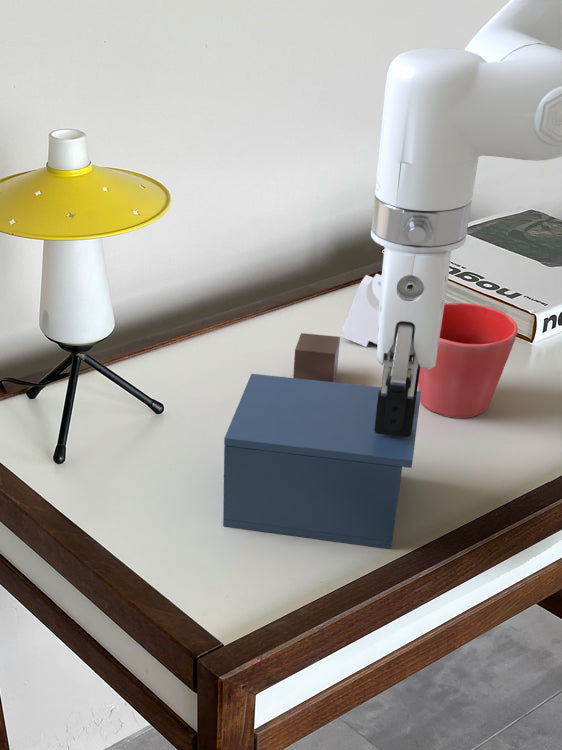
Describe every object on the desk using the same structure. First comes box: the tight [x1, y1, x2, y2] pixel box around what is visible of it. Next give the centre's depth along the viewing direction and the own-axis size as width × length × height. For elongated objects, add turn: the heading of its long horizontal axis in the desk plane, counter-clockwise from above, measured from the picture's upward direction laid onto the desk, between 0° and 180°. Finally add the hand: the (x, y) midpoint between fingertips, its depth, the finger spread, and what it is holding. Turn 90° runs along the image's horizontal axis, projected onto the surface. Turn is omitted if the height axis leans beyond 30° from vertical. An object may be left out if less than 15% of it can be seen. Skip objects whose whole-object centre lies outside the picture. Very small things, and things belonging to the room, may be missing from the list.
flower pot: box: [417, 302, 519, 419], centre depth 111 cm, size 11×11×10 cm
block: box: [292, 332, 341, 382], centre depth 118 cm, size 5×5×5 cm
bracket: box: [339, 273, 382, 348], centre depth 128 cm, size 13×7×8 cm, turn 157°
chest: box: [222, 445, 403, 550], centre depth 96 cm, size 16×13×9 cm
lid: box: [223, 369, 421, 469], centre depth 92 cm, size 16×13×6 cm
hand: (395, 415), depth 91 cm, fingers closed on lid, 5 cm apart
